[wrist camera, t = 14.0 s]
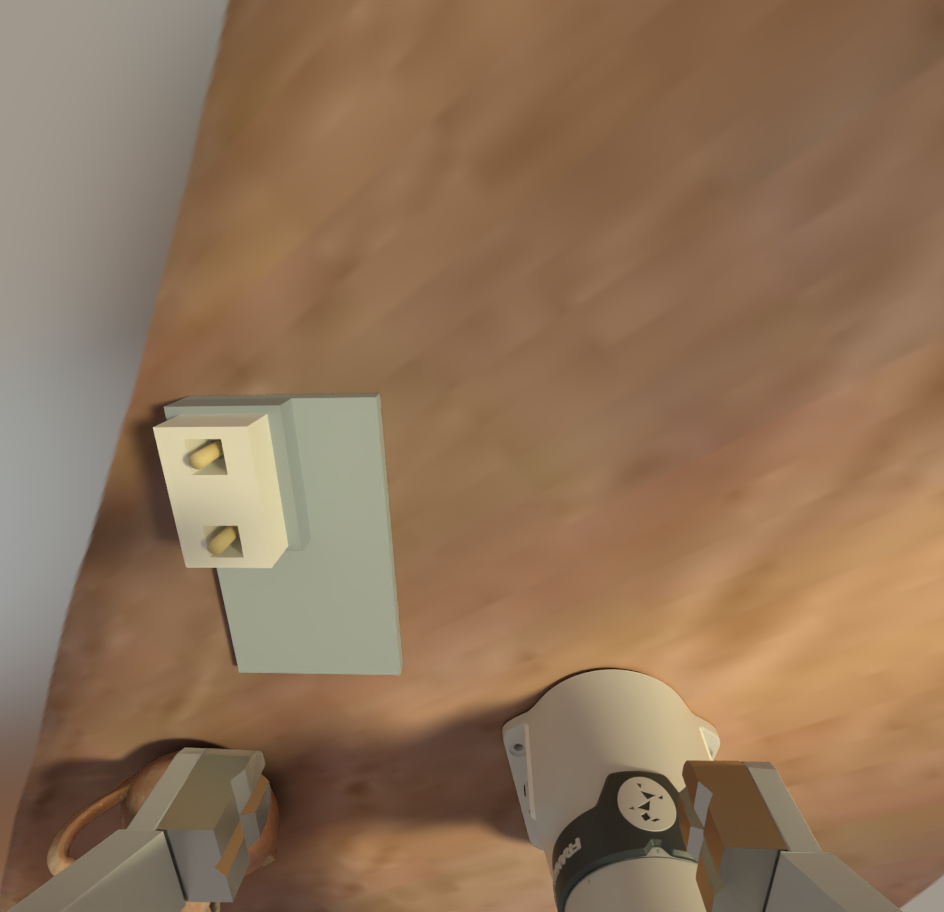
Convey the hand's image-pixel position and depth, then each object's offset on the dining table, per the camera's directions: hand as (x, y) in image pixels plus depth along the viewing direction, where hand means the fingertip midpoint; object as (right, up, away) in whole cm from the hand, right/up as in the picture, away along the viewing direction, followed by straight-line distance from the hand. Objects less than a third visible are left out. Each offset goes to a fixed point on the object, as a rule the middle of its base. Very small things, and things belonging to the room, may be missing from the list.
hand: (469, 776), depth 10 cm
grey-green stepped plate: (-13, -1, +32) cm, 34 cm away
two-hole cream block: (-17, +4, +27) cm, 32 cm away
